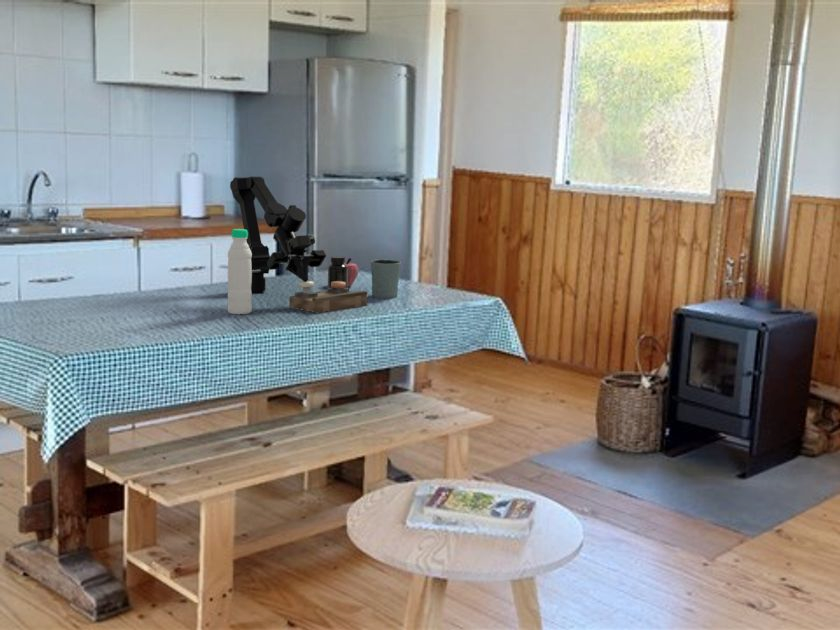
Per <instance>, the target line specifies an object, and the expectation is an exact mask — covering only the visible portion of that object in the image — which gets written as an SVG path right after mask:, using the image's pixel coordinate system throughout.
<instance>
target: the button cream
mask: <svg viewBox="0 0 840 630" xmlns="http://www.w3.org/2000/svg"><path fill="white" fill-rule="evenodd" d="M298 287H300V288H302V292H303V293H305V294H308V293H309V292H311V291H310V288H314V287H315V282H314V281H311V280H308V281H307V282H304V281H303V280H298Z"/></svg>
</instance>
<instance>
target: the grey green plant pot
mask: <svg viewBox="0 0 840 630" xmlns="http://www.w3.org/2000/svg"><path fill="white" fill-rule="evenodd" d="M401 265H402V261H400V260H396V259H385V258H384V259H383V258H382V259H381V258H380V259H379V258H377V259H373V260H371V261H370V269H371V272H370V273H371V285H372V286H371V296H372V297H373V298H375V297H376V299H388V300H389V299H395V298H398V296H399V295H398V294H399V281H400V276H401V275H400V271H401Z"/></svg>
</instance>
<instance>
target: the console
mask: <svg viewBox="0 0 840 630" xmlns="http://www.w3.org/2000/svg"><path fill="white" fill-rule="evenodd" d="M359 306H360V307H365V306H368V291H366V290H358V291H357V290H356V291H350V288H341V289H335V288H334V287H332V288H328V287H327V288H326V291H321V292H320V291H319V292H313V291H309V293H308V294H305V293H303V291H295V292H294V295H293V296H292V295H290V296H289V306H288V307H293V308H298V309H303V310H308V311H313V312H322V313H325V312H324V311H328V312H333V311H332V310H335V311H340V310H339V309H341V310H345V308H347V309H352V307H353V308H358V307H359ZM293 308H292V309H293ZM298 309H297V310H298ZM303 310H302V311H303ZM308 311H307V312H308ZM313 312H312V313H313Z"/></svg>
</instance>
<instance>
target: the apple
mask: <svg viewBox="0 0 840 630" xmlns="http://www.w3.org/2000/svg"><path fill="white" fill-rule="evenodd" d="M351 261H352V258H349V257H348V259H347V261H346V262H345V263H344V264H345V265H346V266H347V267H348V287H351V286H353V285H354V282H355V280H356V279H357V277H358V275H359V272H360V271H359V267H358V265H357V263H354V262H353V263H351Z"/></svg>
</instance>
